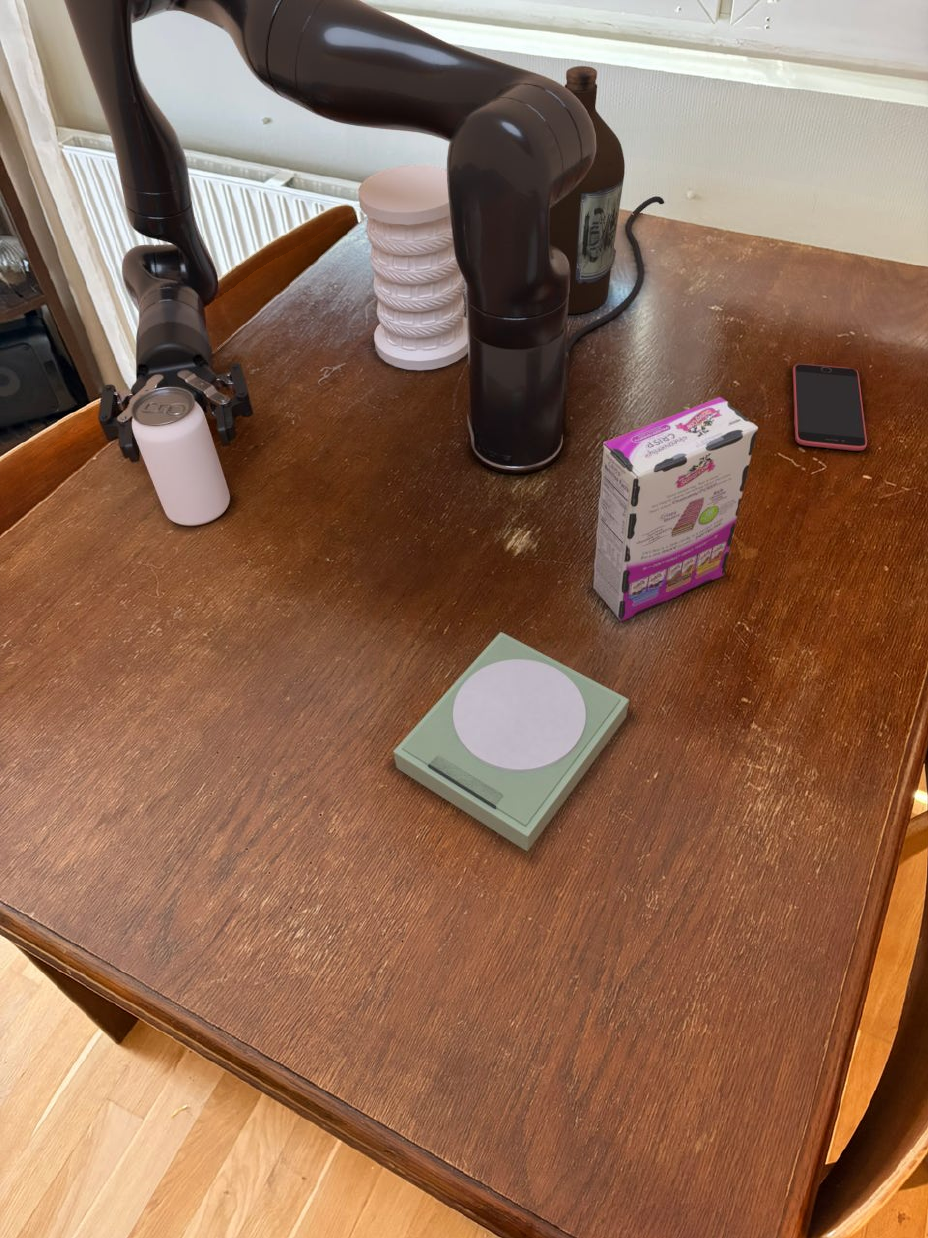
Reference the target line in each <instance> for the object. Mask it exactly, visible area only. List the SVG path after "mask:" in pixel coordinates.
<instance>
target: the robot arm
mask: <svg viewBox="0 0 928 1238" xmlns="http://www.w3.org/2000/svg"><path fill="white" fill-rule="evenodd" d="M63 1H64V4H65V8H66V10H67V13H68V15H69V16H68V17H69V19H70V22H71V25H72V28H73V31H74V33H75V36H76V39H77V42H78V45H79V48H80V51H81V55H82V57H83V61H84V63H85V66H86V68H87V71H88V74H89V76H90V80H91V82H92V85H93V88H94V91H95V94H96V96H97V99H98V102H99V104H100V106H101V110H102V113H103V115H104V119H105V121H106V125H107V128H108V131H109V135H110V138H111V139H110V140H111V142H112V146H113V151H114V154H115V159H116V164H117V169H118V175H119V180H120V185H121V191H122V195H123V196H122V197H123V201H124V207H125V211H126V215H127V219H128V222H129V224H130V226H131V228H133V230H134V231H135V232H137V233H138V234H140V235H141V236H144V237H146V238H150V239H154V240H157V241H162V242H166V243H165V244H139V245H136V246H133V247H132V248H130V249H129V250H128V251H127V252H126V253H125V255H124V256H123V258H122V263H121V275H122V280H123V284H124V287H125V291H126V292H127V295H128V296H129V299H130V301H131V302H132V305H134V307H135V309H136V311H137V312H138V325H137V331H136V338H135V347H136V348H135V378H136V379H135V382H134V383H133V384H132V386H131V388H129V389H122V390H121V389H120V390H117V388H116V387H115V385H114V384H107V385H104V386H103V387H102V389H101V395H100V401H99V408H98V414H97V420H98V422H99V424H100V426H101V429H102V432H103V434H104V436H105V439H106V441H108V442H114V441H116V440H118V441H117V444H118V447H119V449H120V452H121V454H122V456H123V458H124V459H125V460H126V459H129V461H130V463H131V464H134V463H138V462H140V461H141V459H140V458H141V457H140V455H141V451H140V449H139V446H138V444H137V441H136V439H135V436H134V433H133V430H132V419H133V417H132V415H131V407H132V405H133V403H134V402H135V401H136V400H137V399H138V398H139V397H140V396H142V395H143V394H145V393H147V392H149V391H151V390H154V389H158V388H162V387H179V388H183V389H186V390H188V391H189V392H190V393H192V395H193V396H194V399H195V401H196V402H197V403H198V404H199V405H200V407H201V408H202V410H203V412H204V415H205V418H208V419H210V420H212V421H213V420H215V419H216V426H217V427H216V428H217V432H218V435H219V438H220V442H221V445H222V447H230V446H231V441H234V440H236V438H237V430H236V421H237V420H236V419H237V418H238V417H240V416H241V417H243V418H250V417H252V416H254V409H253V405H252V401H251V398H250V394H249V389H248V386H247V382H246V378H245V374H244V370H243V367H242V364H241V363H237V362H235V363H231V364H230V365H229V367H228V369H229V371H227V372H223V373H217V374H216V372H215V371H214V367H213V358H212V357H213V346H212V345H211V340H210V335H209V331H208V328H207V319H206V311H205V307H207V306H209V305H210V304H212V303H213V302H214V300H215V298H216V296H217V294H218V291H219V275H218V272H217V268H216V266H215V263H214V260H213V258H212V255H211V254H210V251H209V249H208V247H207V245H206V243H205V241H204V238H203V237H202V233H201V231H200V228H199V226H198V222H197V220H196V216H195V211H194V206H193V200H192V190H191V183H190V176H189V175H190V174H189V168H188V163H187V158H186V155H185V151H184V148H183V145H182V142H181V140H180V138H179V135H178V134H177V132H176V130H175V128H174V127H173V125H172V124H171V122H170V121H169V119H168V118H167V117H166V114H164V112H163V110H162V109H161V108H160V107H159V106H158V104H157V103H156V101H155V100H154V98H153V97H152V95H151V94H150V93H149V91H148V89H147V87H146V85H145V83H144V82H143V79H142V77H141V74H140V72H139V69H138V65H137V62H136V57H135V56H136V55H135V51H134V43H133V41H134V40H133V39H134V38H133V24H134V23H137V22H139V21H142V20H146V19H148V18H151V17H154V16H156V15H159V14H162V13H165V12H174V11H175V12H182V13H184V14H187V15H188V14H189V15H191V16H194V17H197V18H198V19H201V20H204V21H206V22H207V23H210V24H212V25H214V26H216V27H218V28H220V29H221V30H223V31H224V32H226V33H227V34H228V35H229V37H230V38H231V40H232V42H233V44H234V45H235V48H236V49H237V51H238V53H239V56H240V57H241V59H242V60H243V61H244V63H245V65H246V67H247V68H248V69H249V71H250V72H251V74H252V75H253V77H255V79H256V80H258V82H260V83H261V84H262V85H263V86H264V87H265V88H267V89H268V90H269V91H271V92H273V93H274V94H275V95H277V96H279V97H281V98H283V99H285V100H287V101H289V102H292V103H293V104H295V105H297V106H299V107H301V108H302V109H305V110H306V111H309V112H310V113H312V114H314V115H316V116H319V117H321V118H324V119H326V120H330V121H333V122H336V123H339V124H343V125H349V126H354V127H355V126H356V127H363V128H370V129H371V128H372V129H379V130H389V131H400V132H410V133H418V134H423V135H428V136H432V137H435V138H439V139H441V140H443V141H446V142H448V148H447V155H446V170H447V187H448V199H449V208H450V218H451V227H452V237H453V247H454V254H455V258H456V262H457V265H458V268H459V270H460V272H461V274H462V276H463V280H464V289H465V290H464V291H465V292H464V293H465V313H466V314H465V315H466V317H465V318H467V337H468V352H467V355H468V356H467V357H468V358H467V360H468V379H469V380H468V381H469V382H468V383H469V401H470V402H469V404H470V406H469V407H470V416H469V414H468V413H467V415H466V416H467V417H466V418H467V428H468V430H469V431H468V432H469V434H470V448H471V453H472V454H473V457H474V458H475V459H476V460H477V461H478V462H479V464H481V465H483V466H484V467H485V468H488V469H489V470H492V471H494V472H498V473H501V474H502V473H503V474H507V475H508V474H509V475H524V474H530V473H534V472H538V471H540V470H543V469H545V468H547V467H549V466H550V465H552V464H553V463H554V462H555V461H556V460H557V459H559V457H560V455H561V453H562V450H563V442H564V441H563V440H564V439H563V438H564V434H565V433H566V422H567V421H566V420H567V403H568V383H569V364H570V356H569V355H570V351H571V349H572V348H573V346H574V345H575V344H576V342H577V341H578V340H579V339H580V338H582V337H583V336H584V335H585V334H587V333H589V332H591V331H592V330H595V329H596V328H598V327H600V326H602V325H604V324H606V323H608V322H609V321H611V320H612V319H614V318H615V317H617V316H618V315H619V314H621V312H623V311H624V310H625V309H626V308H627V307H628V306H629V305H630V304H631V303H632V302H633V300H634V299H635V298H636V296H637V295H638V293H639V292H640V289H641V287H642V284H643V282H644V278H645V265H644V261H643V257H642V252H641V247H640V245H639V241H638V240H637V238H636V236H635V234H634V232H633V231H632V224H633V222H634V220H635V219H636V218H637V217H638V215H639V214H640V213H642V211H643V210H645V209H646V208H647V207H649V206H650V205H652V204H655V203H658V204H659V205H664V204H665V200H664V199H663V198H662V197H661V196H656V195H655V196H652V197H650V198H648V199H646V200H645V201H643V202H641V204H639V205H638V206H637V207H636V208H635V209H634V210H633V211H632V213H633V214H634V215H632V213H630V215H629V217H628V218H627V220H626V223H625V227H624V228H625V229H624V230H625V234H626V235H627V238H628V239H629V241H630V243H631V246H632V247H633V251H634V256H635V259H636V264H637V278H636V281H635V285H634V286H633V288H632V290H631V291H630V293H629V294H628V296H626V298H625V299H623V301H622V302H621V303H620V304H619V305H617V307H615V308H614V309H613V310H612V311H610V312H609V313H607V314H606V315H604V316H602V317H600V318H598V319H596V320H595V321H592V322H590V323H588V324H587V325H584V326H583V327H581V328H580V329H579V330H577V331H576V332H574V333H573V334H572V335H571V337H570V338H569V339H568V325H569V320H568V319H569V314H568V303H569V289H570V265H569V261H568V259H567V257H566V256H565V254H564V253H563V252H562V251H561V250H560V249H558V248H557V247H555V246H554V245H551V244H549V213H550V209H551V208H552V207H553V206H554V205H556V204H557V203H558V202H559V201H560V200H562V199H563V198H564V197H565V196H567V195H568V194H569V193H570V192H571V191H572V190H573V189H574V188H575V187H576V186H577V185H578V184H579V183H580V182H581V181H582V180H583V178H584V177H585V176H586V174H587V173H588V171H589V170H590V168H591V166H592V164H593V161H594V158H595V153H596V134H595V131H594V127H593V123H592V121H591V119H590V117H589V114H588V112H587V110H586V109H585V107H584V106H583V104H582V103H581V102H580V101H579V99H578V98H577V97H576V96H575V95H574V94H573V93H572V92H571V91H569V90H568V89H567V88H565V85H563V84H561V83H560V82H557V80H554V79H552V78H550V77H547V76H545V75H542V74H539V73H536V72H533V71H530V70H528V69H524V68H521V67H518V66H515V65H511V64H508V63H505V62H502V61H499V60H496V59H492V58H490V57H486V56H484V55H480V54H478V53H474V52H472V51H470V50H466V49H464V48H461V47H458V46H456V45H453V44H451V43H449V42H446V41H444V40H442V39H440V38H438V37H437V36H434V35H432V34H430V33H429V32H426V31H425V30H423V29H420V28H419V27H416V26H414V25H412V24H410V23H408V22H406V21H403V20H402V19H399V18H397V17H395V16H393V15H390V14H389V13H387V12H384V11H382V10H380V9H377V8H375V7H374V6H371V5H369V4H367V3H366V2H363V1H362V0H63ZM167 243H168V244H167ZM220 388H225V389H226V390H227V391H228V392H230V393H231V395H232V396H233V397H229V396H228V395H225V394H223V393H222V392H220Z"/></svg>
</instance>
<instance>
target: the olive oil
mask: <svg viewBox="0 0 928 1238" xmlns="http://www.w3.org/2000/svg"><path fill="white" fill-rule="evenodd" d="M597 77H598V71H597V70H596V68H594V67H591V66H589V65H588V66H586V65H578V66H577V65H576V66H572V67H570V68H568V69H566V73H565V80H566V83H565V85H564V87H565V88H567V89H568V90H569V91H571V92H572V93H573V94H574V95H575V96H576V97H577V98H578V99H579V101H580V102H581V103H582V104H583V106H584V107H585V109H586V110H587V112H588V114H589V117H590V119H591V121H592V123H593V127H594V131H595V134H596V153H595V158H594V161H593V164H592V166H591V168H590V170H589V171H588V173H587V174H586V176H585V177H584V178H583V180H582V181H581V182H580V183H579V184H578V185H577V186H576V187H575V188H574V189H573V190H572V191H571V192H570V193H569V194H568V195H567V196H565V197H564V198H563V199H562V200H560V201H559V202H558V203H557V204H556V205H554V206H553V207H552V208H551V209H550V213H549V244H551V245H554V246H555V247H557V248H558V249H560V250H561V251H562V252H563V253H564V254H565V256H566V257H567V259H568V261H569V265H570V289H569V303H568V315H580V314H586V313H589V312H592V311H594V310H597V309H598V308H600V307H602V305H603V304H605V302H606V301H607V299H608V297H609V290H610V283H611V282H610V281H611V273H612V268H613V266H614V265H615V260H616V254H617V250H616V249H615V244H616V243H615V242H616V236H617V230H618V229H617V228H618V221H619V214H620V207H621V200H622V195H623V187H624V180H625V169H626V164H625V163H626V162H625V156H624V150H623V148H622V144H621V142H620V140H619V138H618V136H617V135H616V134H615V132H614V131H613V130H612V128H611V127H610V126H609V125H608V124H607V123H606V121H605V120H604V119H603V118H602V116H601V115H600V114H599V112H598V111H597V108H596V104H597V93H598V84H597V82H596V81H597Z"/></svg>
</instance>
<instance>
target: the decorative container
mask: <svg viewBox="0 0 928 1238" xmlns="http://www.w3.org/2000/svg"><path fill="white" fill-rule="evenodd" d="M357 190H358V191H357V193H358V194H357V195H358V196H357V197H358V203H359V208H360V209H361V211H362V213H363V214H365V215H366V216H367V220H366V226H365V232H366V236H367V238H368V241H369V242H370V244H371V249H370V253H369V262H370V265H371V268H372V271H374V277H373V283H372V284H373V291H374V293H375V296H376V298H377V303H376V304H377V305H376V315H377V318H378V319H377V320H378V322H379V323H378V324H377V326H376V328H375V330H374V333H373V341H374V348H375V351H376V353H377V355H378V357H379V358H380V359H382V360H383V361H384V362H385V363H387V364H389V365H390V366H393V367H395V368H400V369H403V370H409V371H428V370H429V371H430V370H435V369H439V368H443V367H447V366H450V365H452V364H454V363H456V362H458V361H460V360H461V359H463V358H464V357H465V356H466V355H468V337H467V317H465V313H466V302H465V300H464V296H463V290H464V287H465V281H464V278H463V276H462V274H461V272H460V270H459V268H458V265H457V262H456V258H455V254H454V247H453V237H452V227H451V218H450V208H449V199H448V187H447V168H444V167H440V166H434V165H426V164H411V165H410V164H409V165H408V164H407V165H400V166H395V167H390V168H386V169H383V170H381V171H378V172H376V173H374V174H372V175H369V176H368V177H367V178H366V179H365V180H363V181H362V182H361V183H360V185H359V187H358V189H357Z"/></svg>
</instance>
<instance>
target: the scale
mask: <svg viewBox="0 0 928 1238" xmlns="http://www.w3.org/2000/svg"><path fill="white" fill-rule="evenodd" d="M629 702H630V699H629V698H627V697H625V696H624V695H622V694H620V693H618V692H616V691H614V690H612V689H610V688H608V687H607V686H604V685H603V684H601V683H599V682H597V681H596V680H593V679H592V678H590V677H587V676H585V675H583V674H582V673H580V672H578V671H576V670H574V669H572V668H570V667H569V666H567V665H566V664H565V665H564V664H563V663H561V662H559V661H557V660H555V659H553V658H551V657H549V656H548V655H545V654H544V653H542V652H540V651H538V650H536V649H535V648H533V647H530V646H529V645H526V644H525V643H523V642H522V641H519V640H517V639H516V638H514V637H513V636H509V635H508V634H506V633H504V632H502V631H500V632H499V633H498V634H497V635H496V636H495V637H494V638H493V639H492V641H491V642H490V643H488V645H487V646H486V647H485V648H484V650H483V651H482V652H481V653H480V654H479V655H478V656H477V657H476V659H475V660H473V662H472V663H471V664H470V665H469V666H468V667H467V669H466V670H464V671H463V673H462V674H461V675H460V676H459V678H458V679H456V681H455V682H454V683H453V684H452V685H451V686H450V688H448V689H447V690H446V692H444V694H443V695H442V696H441V697H440V698H439V700H438V701H437V702H436V703H435V704H434V705H433V706H432V707H431V709H429V711H428V712H427V713H426V714H425V715H424V716H423V717H422V719H420V721H419V722H418V723H417V724H416V725H415V726H414V727H413V729H412V730H410V732H409V733H408V734H407V735H406V736H405V737H404V738H403V740H402V741H401V742H400V743H399V744H398V745H397V746H396V747H395V749H394V750H393V751H392V752H393V757H394V763H395V767H396V769H397V770H398V771H401V772H402V773H403V774H405V775H407V776H408V777H410V778H411V779H413V780H414V781H416V782H417V783H419V784H420V785H422V786H424V787H425V788H427V789H429V790H430V791H431V792H433V793H435V794H436V795H438V796H440V797H441V798H443V799H444V800H446V801H447V802H449V803H450V804H452V805H454V806H455V807H456V808H458V809H460V810H461V811H463V812H465V813H466V814H467V815H469V816H471V817H472V818H474V819H475V820H477V821H479V822H480V823H481V824H483V825H485V826H486V827H488V828H489V829H491V830H493V831H494V832H496V833H497V834H498V835H500V836H502V837H503V838H505V839H507V840H508V841H509V842H511V843H513V844H514V845H516V846H518V847H519V848H521V849H522V850H524V851H525V852H529V851H530V849H531V848H532V846H533V845H534V844H535V842H536V841H537V839H538V838H539V837H540V835H541V834H542V833H543V831H544V830H545V828H546V827H547V826H548V825H549V823H550V822H551V821H552V819H553V818H554V817H555V815H556V814H557V813H558V811H559V809H561V807H562V805H563V804H564V803H565V801H566V800H567V798H569V796H570V795H571V793H572V792H573V791H574V789H575V788H576V786H577V785H578V783H580V781H581V780H582V778H583V777H584V775H586V773H587V772H588V770H589V769H590V767H591V766H592V764H593V763H594V762H595V761H596V760H597V758H598V757H599V755H600V753H601V752H602V751H603V749H604V748H605V747H606V745H607V744H608V743H609V742H610V740H611V739H612V737H613V736H614V735H615V733H616V732H617V730H618V729H619V728H620V726H621V725H622V724H623V722H624V721H625V719H626V718H627V714H628V709H629Z"/></svg>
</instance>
